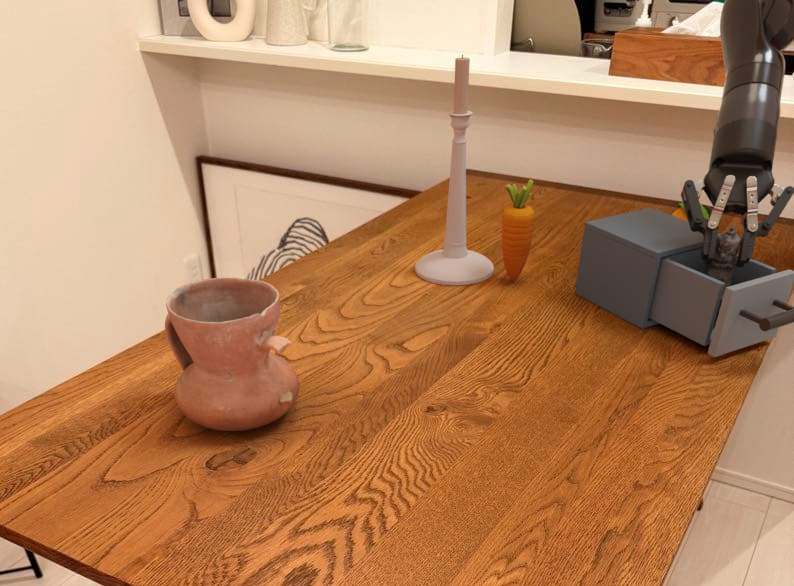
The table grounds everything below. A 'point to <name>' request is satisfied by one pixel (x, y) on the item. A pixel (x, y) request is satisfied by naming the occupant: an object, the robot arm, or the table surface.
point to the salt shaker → (725, 259)
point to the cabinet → (629, 260)
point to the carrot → (517, 230)
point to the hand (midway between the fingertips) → (725, 262)
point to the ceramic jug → (229, 354)
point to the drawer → (740, 309)
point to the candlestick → (456, 205)
